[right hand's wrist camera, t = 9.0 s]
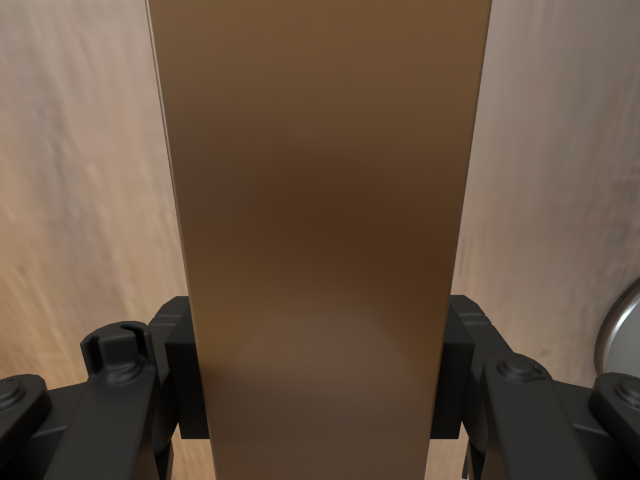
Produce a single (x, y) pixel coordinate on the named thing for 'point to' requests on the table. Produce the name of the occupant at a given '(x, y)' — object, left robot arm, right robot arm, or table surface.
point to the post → (319, 219)
